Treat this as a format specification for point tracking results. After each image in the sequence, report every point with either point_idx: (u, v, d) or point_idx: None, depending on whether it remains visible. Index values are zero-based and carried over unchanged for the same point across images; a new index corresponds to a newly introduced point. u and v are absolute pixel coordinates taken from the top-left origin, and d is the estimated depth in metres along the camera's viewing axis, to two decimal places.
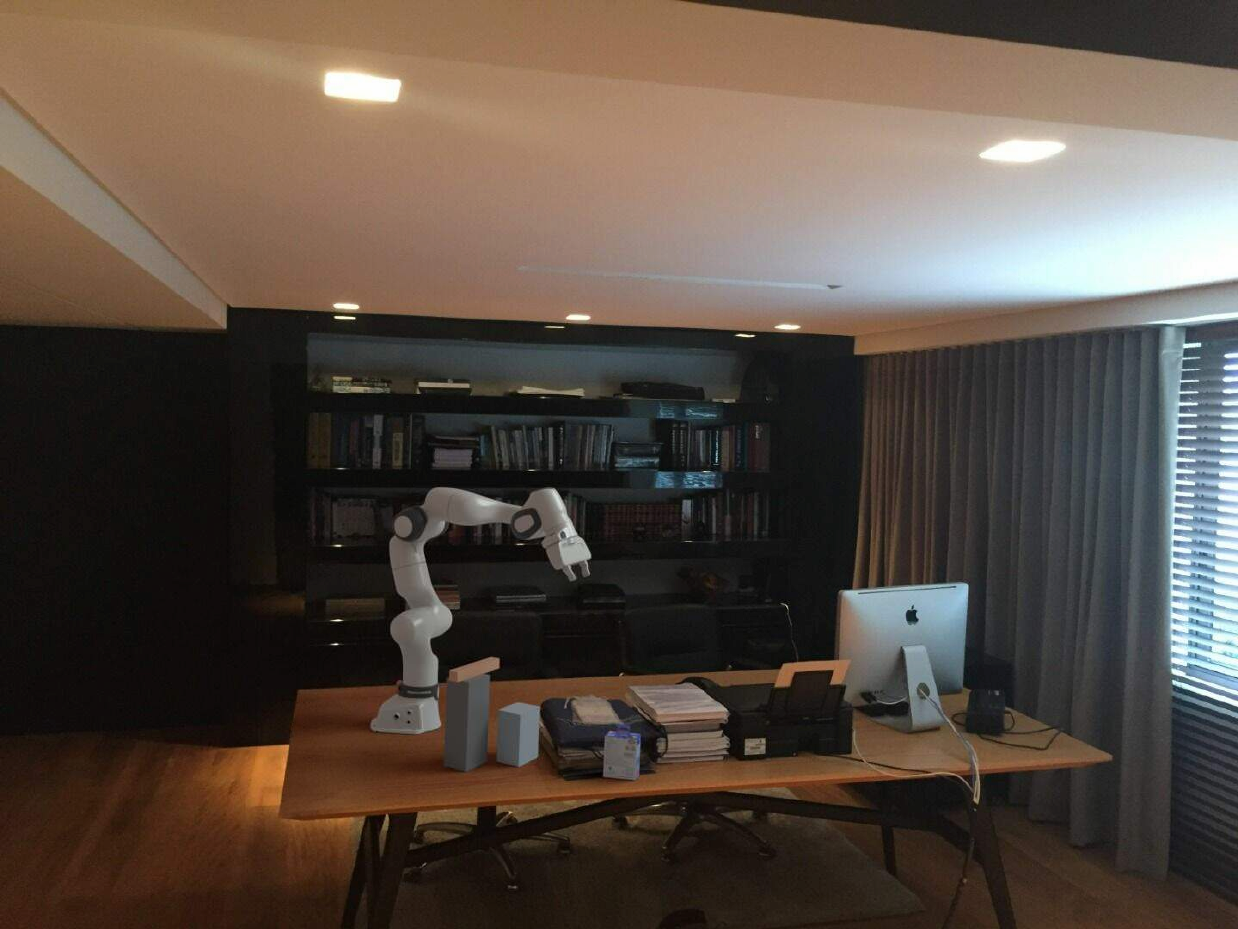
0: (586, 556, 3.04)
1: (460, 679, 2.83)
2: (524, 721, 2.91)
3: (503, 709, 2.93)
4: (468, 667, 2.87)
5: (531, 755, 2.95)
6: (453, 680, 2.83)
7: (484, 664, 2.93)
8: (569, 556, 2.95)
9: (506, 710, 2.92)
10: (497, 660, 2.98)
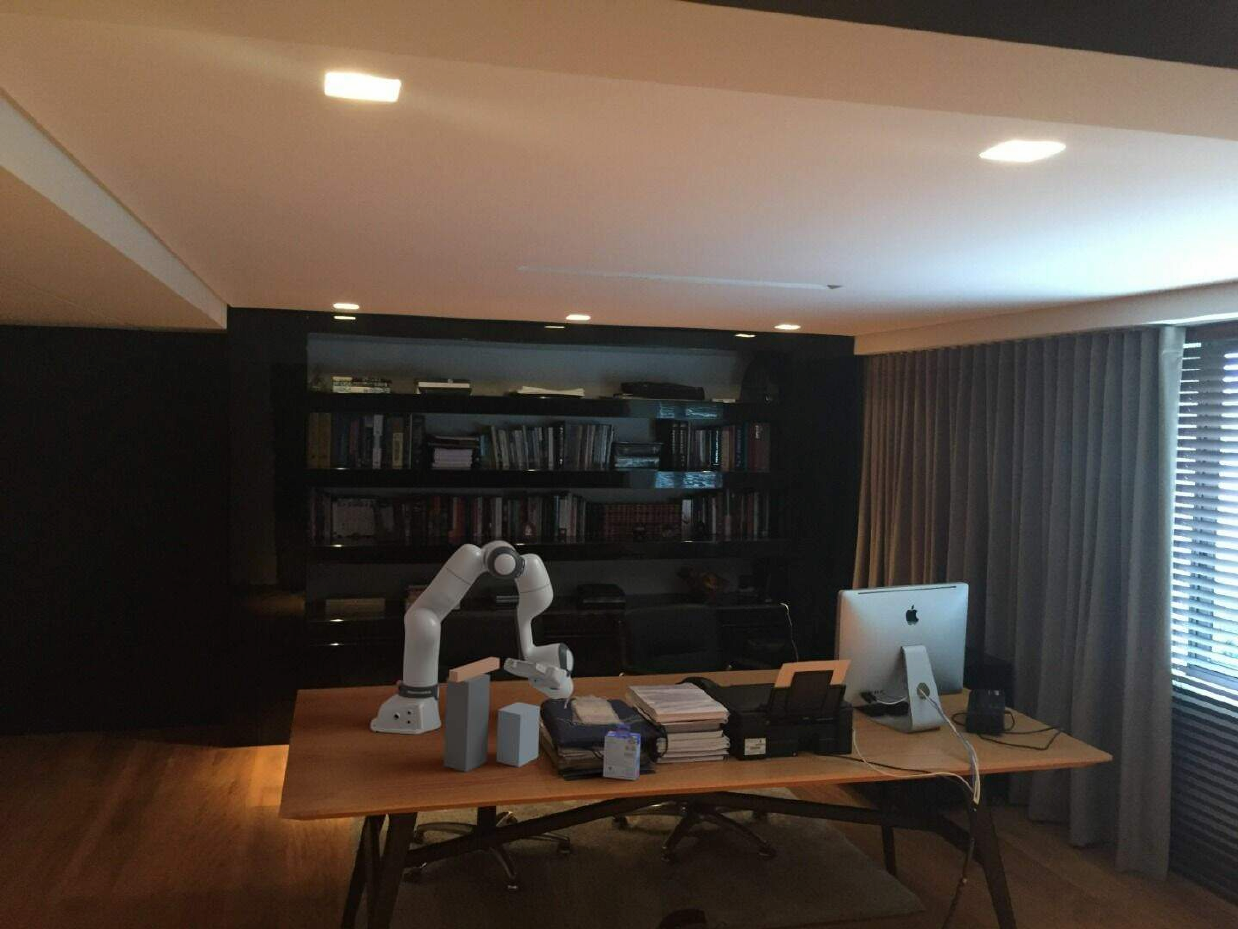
0: (513, 671, 3.19)
1: (460, 679, 2.83)
2: (524, 721, 2.91)
3: (503, 709, 2.93)
4: (468, 667, 2.87)
5: (531, 755, 2.95)
6: (453, 680, 2.83)
7: (484, 664, 2.93)
8: (542, 677, 3.15)
9: (506, 710, 2.92)
10: (497, 660, 2.98)
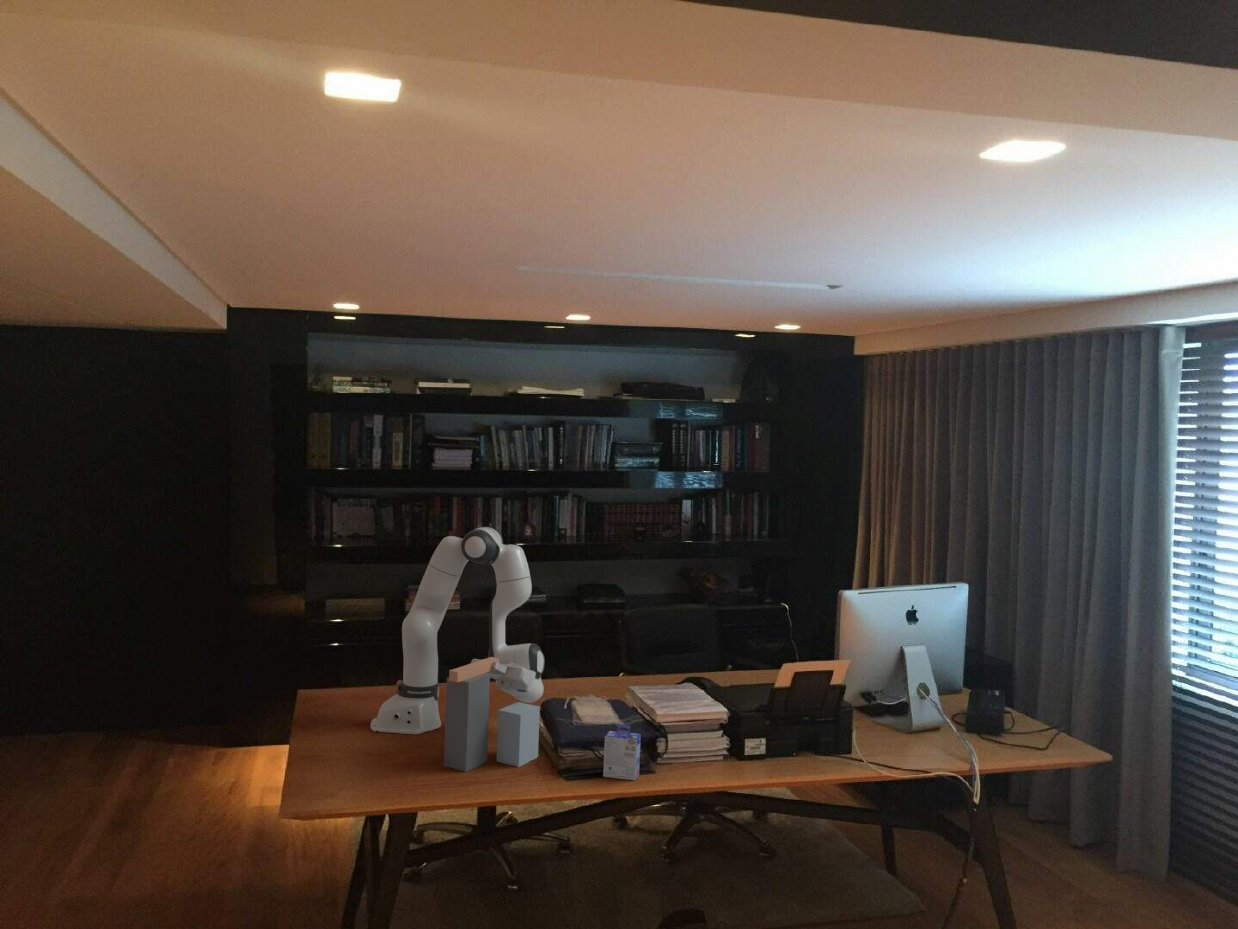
0: None
1: (460, 679, 2.83)
2: (524, 721, 2.91)
3: (503, 709, 2.93)
4: (468, 667, 2.87)
5: (531, 755, 2.95)
6: (453, 680, 2.83)
7: (484, 664, 2.93)
8: (509, 678, 2.99)
9: (506, 710, 2.92)
10: (497, 660, 2.98)
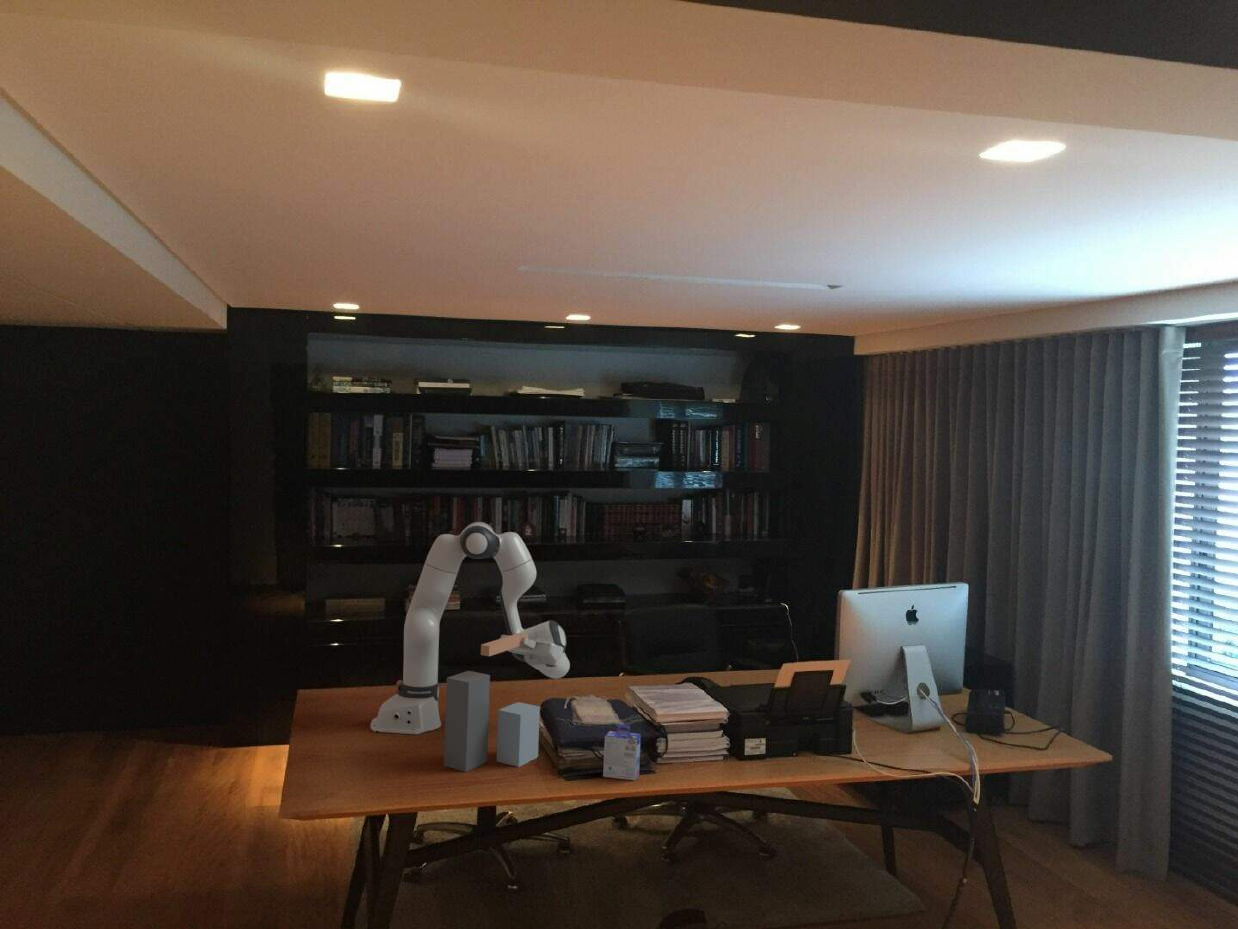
0: None
1: (491, 653, 2.90)
2: (524, 721, 2.91)
3: (503, 709, 2.93)
4: (499, 642, 2.94)
5: (531, 755, 2.95)
6: (485, 654, 2.90)
7: (514, 639, 3.00)
8: (538, 654, 3.06)
9: (506, 710, 2.92)
10: (526, 635, 3.05)
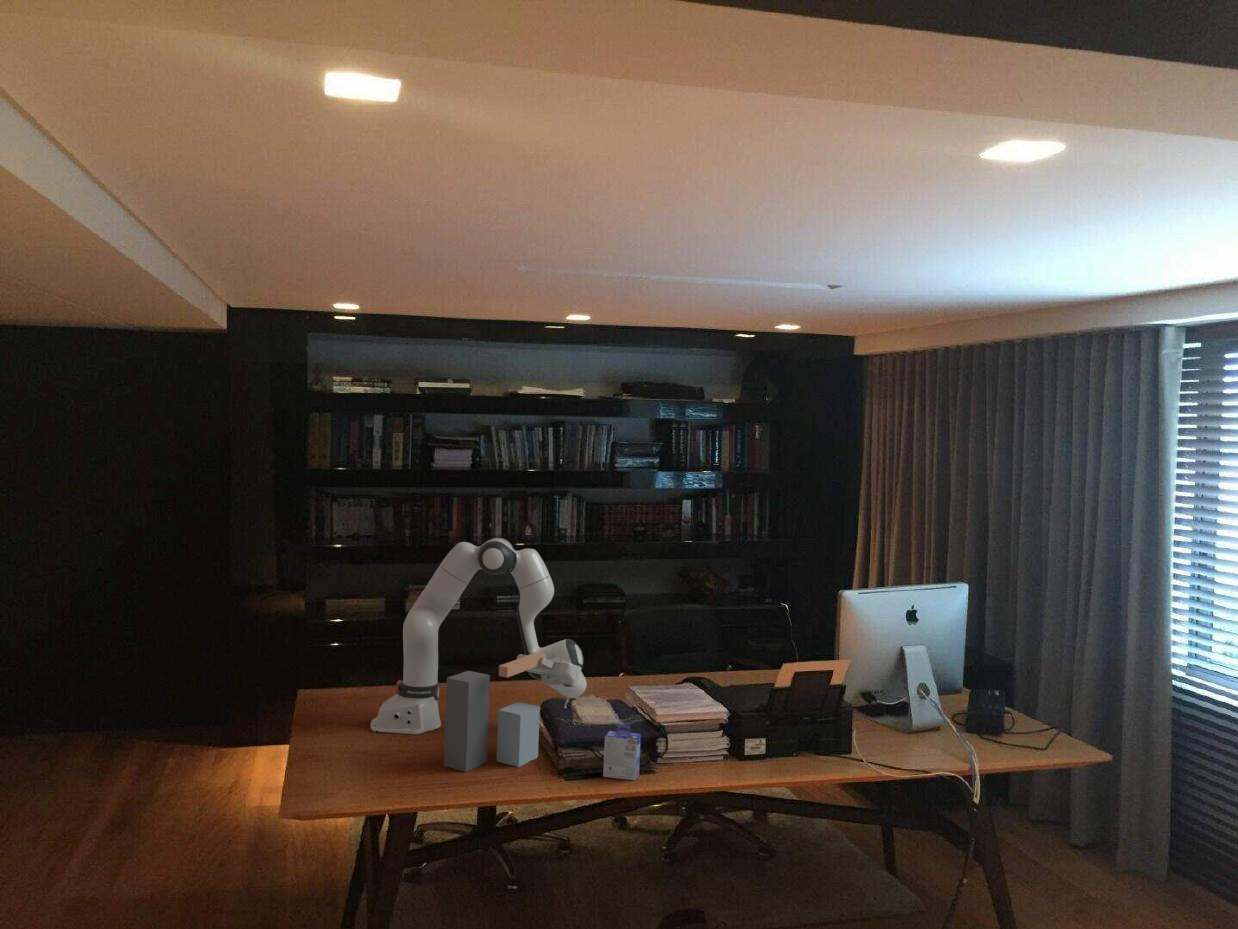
0: None
1: (510, 674, 2.87)
2: (524, 721, 2.91)
3: (503, 709, 2.93)
4: (517, 662, 2.91)
5: (531, 755, 2.95)
6: (503, 675, 2.86)
7: (532, 659, 2.97)
8: (556, 673, 3.03)
9: (506, 710, 2.92)
10: (544, 655, 3.02)
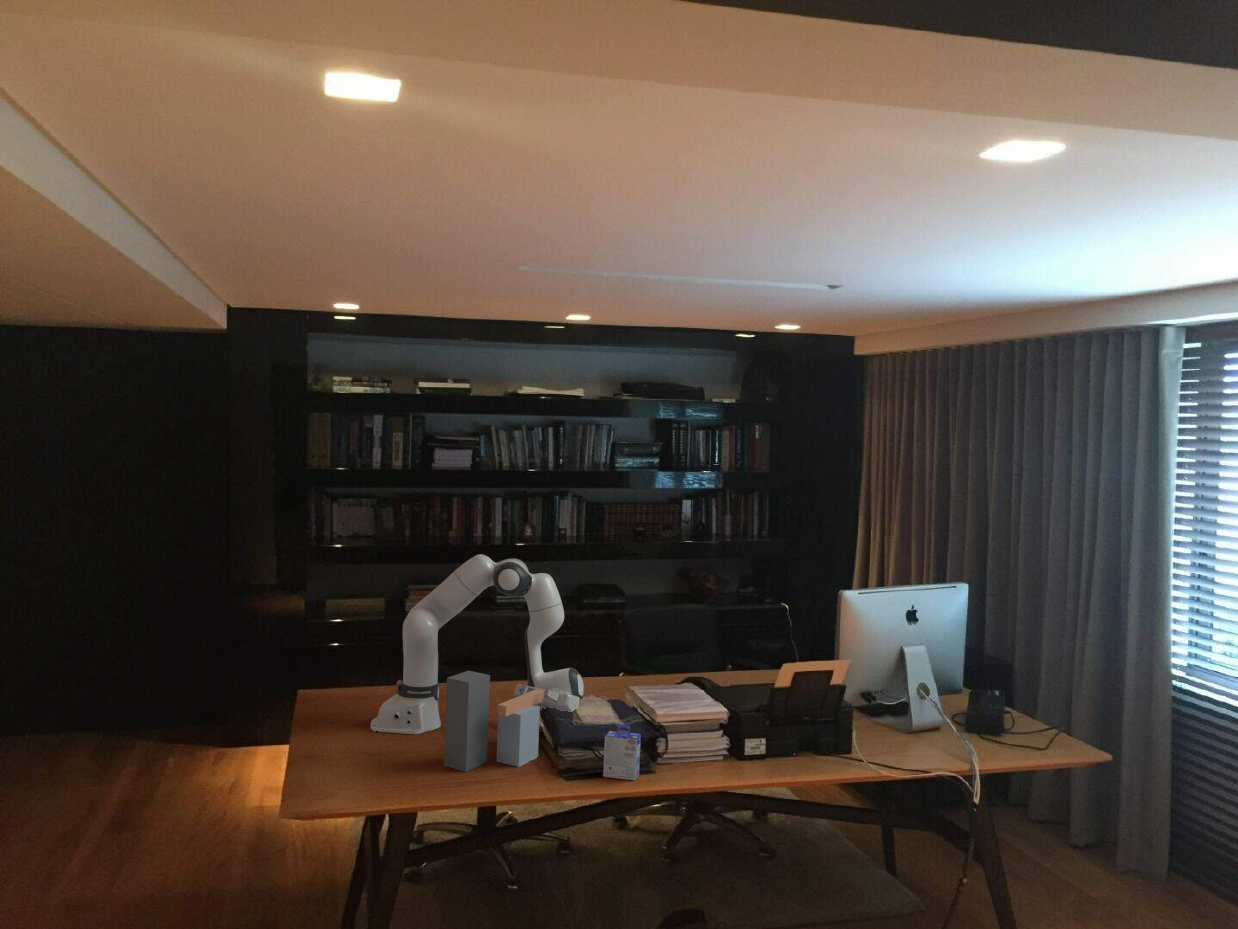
0: None
1: (508, 713, 2.88)
2: (524, 721, 2.91)
3: None
4: (515, 701, 2.92)
5: (531, 755, 2.95)
6: (501, 714, 2.87)
7: (530, 697, 2.97)
8: (554, 704, 3.03)
9: None
10: (542, 693, 3.03)
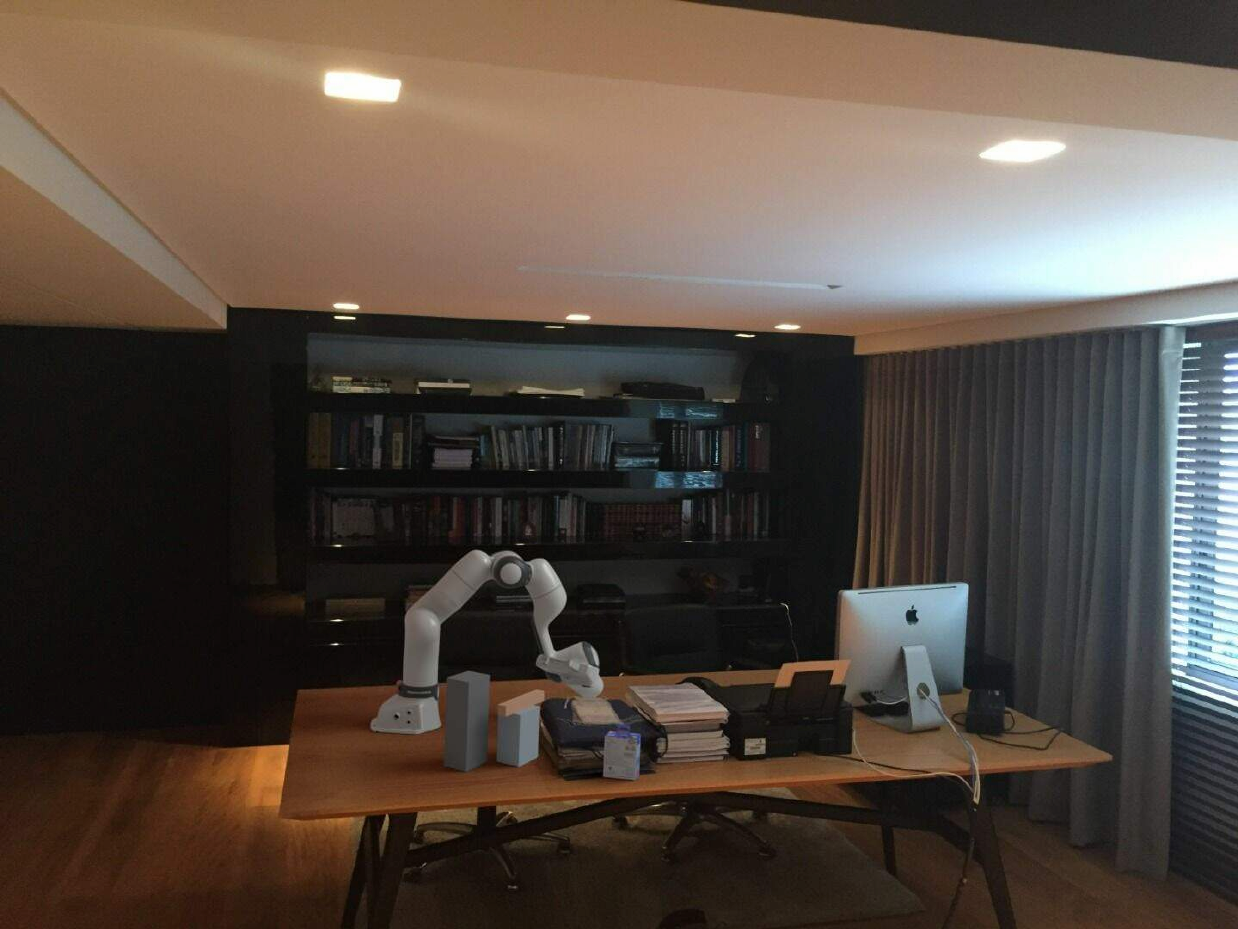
0: (545, 667, 3.18)
1: (508, 713, 2.88)
2: (524, 721, 2.91)
3: None
4: (515, 701, 2.92)
5: (531, 755, 2.95)
6: (501, 714, 2.87)
7: (530, 697, 2.97)
8: (575, 674, 3.13)
9: None
10: (542, 693, 3.03)
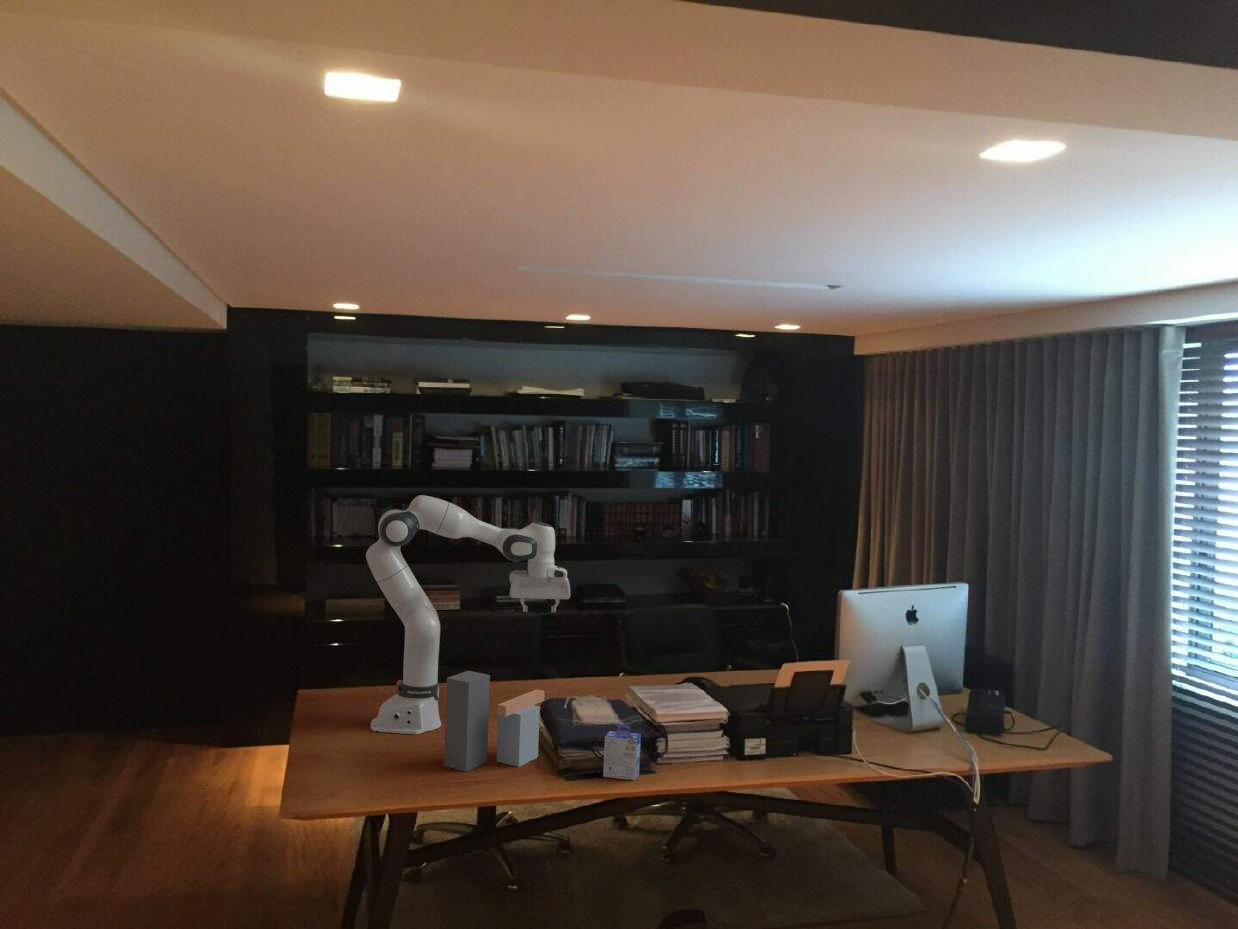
0: None
1: (508, 713, 2.88)
2: (524, 721, 2.91)
3: None
4: (515, 701, 2.92)
5: (531, 755, 2.95)
6: (501, 714, 2.87)
7: (530, 697, 2.97)
8: None
9: None
10: (542, 693, 3.03)
